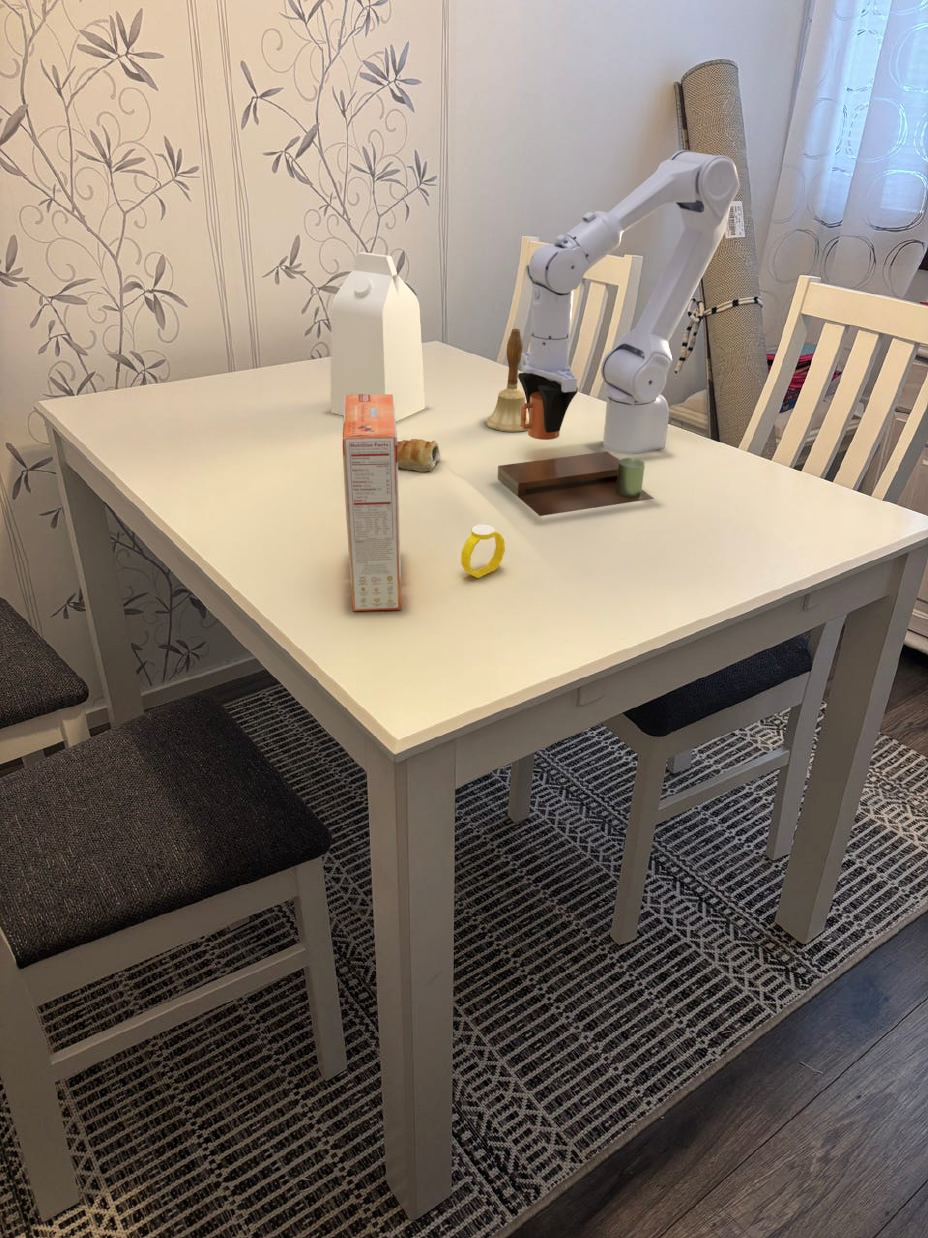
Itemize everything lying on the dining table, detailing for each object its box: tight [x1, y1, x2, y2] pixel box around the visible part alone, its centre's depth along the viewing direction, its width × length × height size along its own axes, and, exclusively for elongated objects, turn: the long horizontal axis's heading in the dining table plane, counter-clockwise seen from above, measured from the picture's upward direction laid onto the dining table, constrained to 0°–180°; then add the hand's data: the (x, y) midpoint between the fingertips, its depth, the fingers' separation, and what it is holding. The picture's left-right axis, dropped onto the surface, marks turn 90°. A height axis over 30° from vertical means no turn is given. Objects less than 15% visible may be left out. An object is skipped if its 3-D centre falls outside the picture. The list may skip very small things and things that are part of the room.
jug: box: [520, 392, 561, 441], centre depth 146 cm, size 7×5×6 cm
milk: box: [330, 251, 426, 423], centre depth 164 cm, size 12×12×26 cm
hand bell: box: [485, 328, 529, 433], centre depth 161 cm, size 8×8×16 cm
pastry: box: [397, 438, 441, 473], centre depth 148 cm, size 9×7×4 cm
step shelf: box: [497, 451, 655, 517], centre depth 139 cm, size 18×14×3 cm
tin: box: [616, 457, 646, 497], centre depth 137 cm, size 4×4×4 cm
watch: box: [460, 524, 506, 579], centre depth 116 cm, size 6×3×6 cm, turn 132°
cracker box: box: [342, 394, 403, 612], centre depth 110 cm, size 14×6×21 cm, turn 5°
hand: (544, 425), depth 147 cm, fingers closed on jug, 5 cm apart
